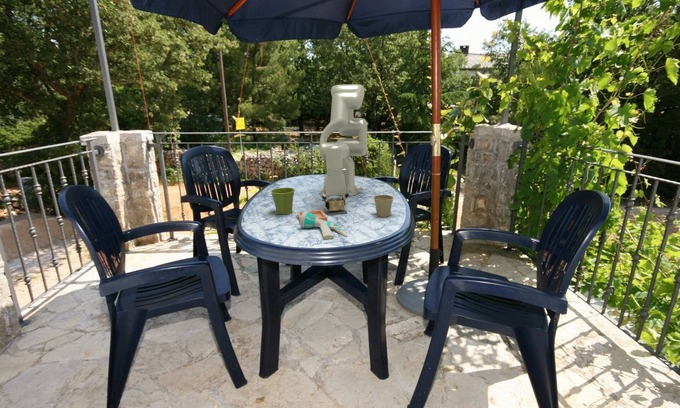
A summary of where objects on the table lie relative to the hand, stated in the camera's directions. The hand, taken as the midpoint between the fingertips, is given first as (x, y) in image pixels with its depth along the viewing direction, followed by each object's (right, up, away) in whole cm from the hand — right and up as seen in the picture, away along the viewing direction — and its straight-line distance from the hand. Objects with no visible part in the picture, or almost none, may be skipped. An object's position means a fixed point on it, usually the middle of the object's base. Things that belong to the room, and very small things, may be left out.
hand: (335, 207), depth 169 cm
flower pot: (+23, -4, -5) cm, 23 cm away
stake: (0, -2, +1) cm, 2 cm away
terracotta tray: (-11, -5, -9) cm, 15 cm away
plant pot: (-25, -3, +1) cm, 25 cm away
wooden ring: (0, 0, 0) cm, 0 cm away
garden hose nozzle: (-5, -10, -24) cm, 26 cm away
